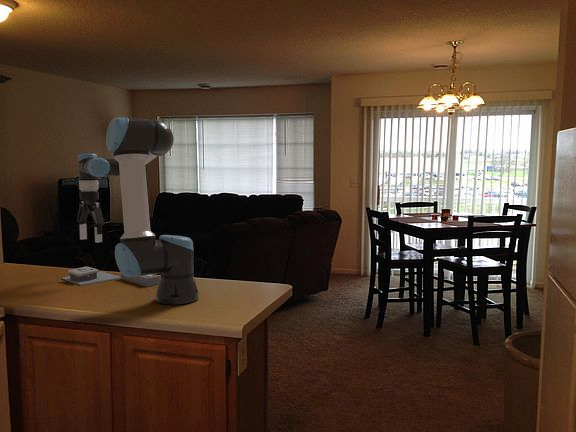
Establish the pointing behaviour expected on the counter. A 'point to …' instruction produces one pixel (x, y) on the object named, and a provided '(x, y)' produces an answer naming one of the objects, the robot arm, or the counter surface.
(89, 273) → the electrical switch
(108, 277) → the mat
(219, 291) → the counter surface
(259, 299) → the counter surface
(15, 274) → the counter surface
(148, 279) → the power strip
